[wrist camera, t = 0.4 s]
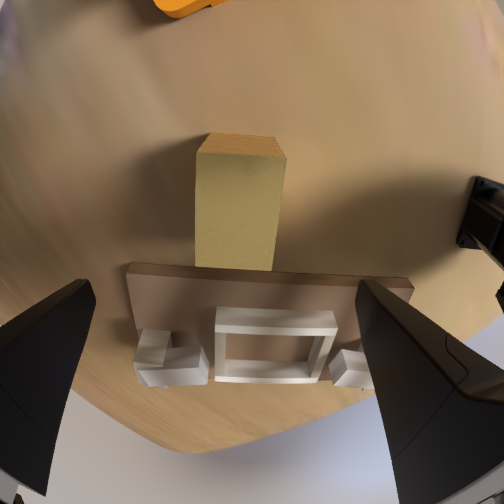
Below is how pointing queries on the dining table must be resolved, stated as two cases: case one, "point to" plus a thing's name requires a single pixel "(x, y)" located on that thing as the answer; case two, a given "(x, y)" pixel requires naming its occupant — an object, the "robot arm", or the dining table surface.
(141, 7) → the dining table surface
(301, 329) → the coupling base
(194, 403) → the dining table surface
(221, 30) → the dining table surface
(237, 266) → the tan rectangular block
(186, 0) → the bracket
